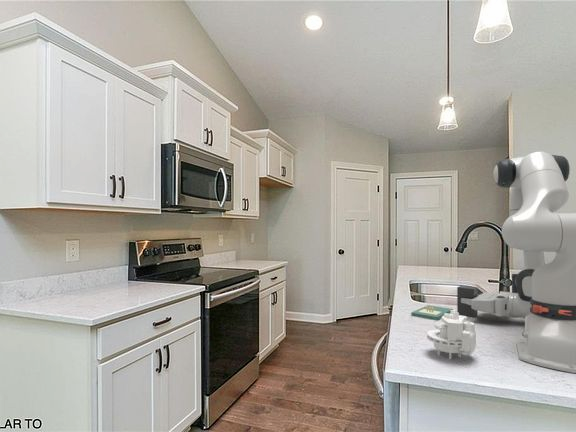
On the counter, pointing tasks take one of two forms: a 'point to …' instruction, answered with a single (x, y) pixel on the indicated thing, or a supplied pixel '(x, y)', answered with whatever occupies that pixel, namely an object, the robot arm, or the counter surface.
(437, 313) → the header board
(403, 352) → the counter surface
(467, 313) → the plug housing
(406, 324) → the counter surface
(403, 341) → the counter surface
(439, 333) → the mechanical part
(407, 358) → the counter surface
